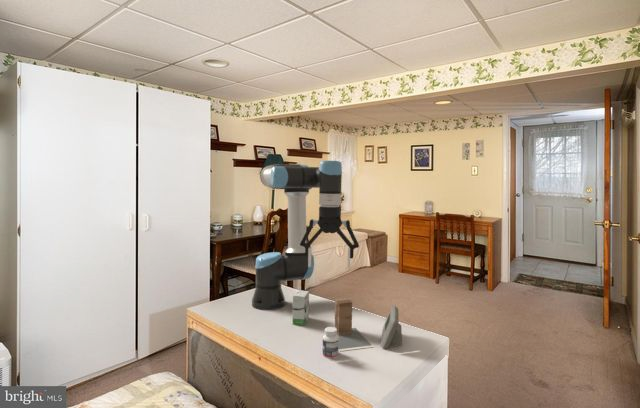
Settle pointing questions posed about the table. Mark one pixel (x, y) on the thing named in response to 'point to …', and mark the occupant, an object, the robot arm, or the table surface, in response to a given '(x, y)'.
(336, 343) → the pill bottle
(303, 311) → the ink box
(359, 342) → the mat
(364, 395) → the table surface
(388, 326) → the digital clock
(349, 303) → the block
